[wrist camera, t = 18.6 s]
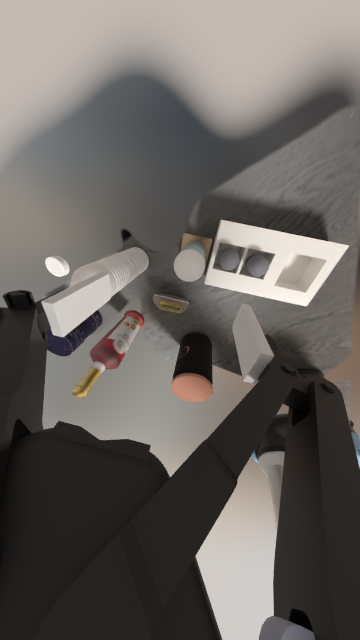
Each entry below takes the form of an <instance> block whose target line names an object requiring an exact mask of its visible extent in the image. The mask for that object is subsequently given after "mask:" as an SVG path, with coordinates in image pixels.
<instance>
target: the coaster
mask: <svg viewBox="0 0 360 640" xmlns="http://www.w3.org/2000/svg"><path fill="white" fill-rule="evenodd" d="M212 240H213V239H210V238H206V237H201V236H196V235H191V234H187V233H183V239H182V245H181V251H183V250H184V249H185V247H186V246H187V245H188V244H189V243H190V242H192V241H199V242H201V243H202V244H203V245H204V247H205V267H206V264H207V260H208V256H209V252H210V248H211V244H212Z"/></svg>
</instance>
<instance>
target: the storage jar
mask: <svg viewBox="0 0 360 640" xmlns="http://www.w3.org/2000/svg"><path fill="white" fill-rule="evenodd" d="M101 324H102V316H101V314H100V312H99V311H98V310H97V311H95V312H94V313H93V314H92V315H90V316H89V317H88V318H87V319H85V320H84V321H83V322H82V323H80V324H79V325H78V326H77V327H75V328H74V329H73V330H72V331H70V332H69V333H68V334H67V335H66V336H64V337H59V336H55V335H53V333H52V331H51V329H49V330H48V331H46V332H47V335H48V339H47V350H49V351H50V352H52V353H54V354H56V355H59V356H68V355H70V354H71V353H72V352H73V351H74V350H75V349H77V348H78V347H79V346H80V345H81V344H82V343H83V342H84V340H85V339H86V338H87V337H88V336H89V335H91V334H92V333H93V332H94V331H95V330H96V329H97V328H98V327H99V326H100V325H101Z"/></svg>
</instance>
